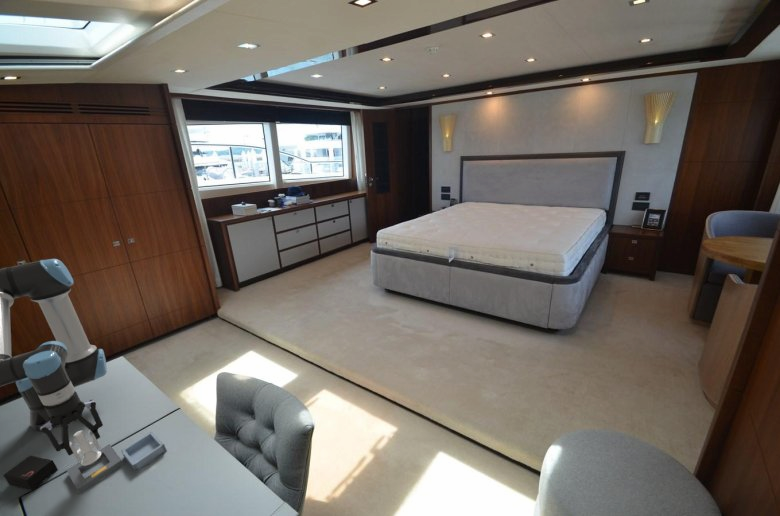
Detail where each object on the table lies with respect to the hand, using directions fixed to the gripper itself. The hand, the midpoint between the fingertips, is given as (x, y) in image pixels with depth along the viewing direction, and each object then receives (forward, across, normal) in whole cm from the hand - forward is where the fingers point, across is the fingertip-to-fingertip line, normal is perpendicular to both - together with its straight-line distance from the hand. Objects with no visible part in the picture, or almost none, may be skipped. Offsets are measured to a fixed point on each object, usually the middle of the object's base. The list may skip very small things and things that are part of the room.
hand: (88, 452), depth 112 cm
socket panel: (+7, 0, 0) cm, 7 cm away
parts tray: (+7, +12, -8) cm, 16 cm away
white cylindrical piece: (+3, 0, 0) cm, 3 cm away
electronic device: (+8, -13, +15) cm, 21 cm away
